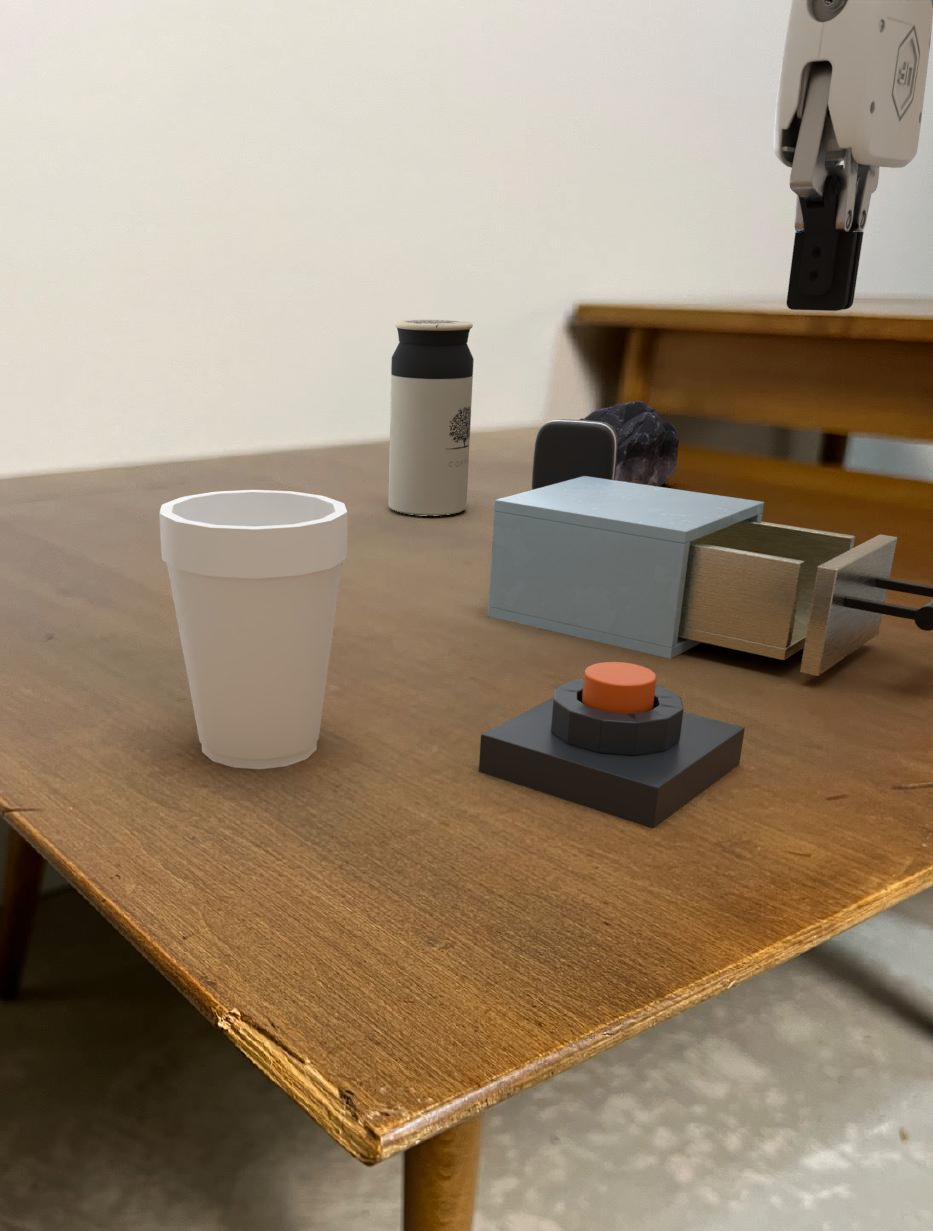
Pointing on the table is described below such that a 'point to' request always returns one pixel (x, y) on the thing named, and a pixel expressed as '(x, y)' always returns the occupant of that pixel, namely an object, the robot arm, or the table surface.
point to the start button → (619, 687)
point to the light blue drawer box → (603, 559)
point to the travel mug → (430, 417)
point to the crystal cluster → (641, 443)
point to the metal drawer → (792, 592)
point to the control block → (613, 754)
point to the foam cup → (255, 616)
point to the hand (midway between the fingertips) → (818, 308)
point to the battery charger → (574, 451)
